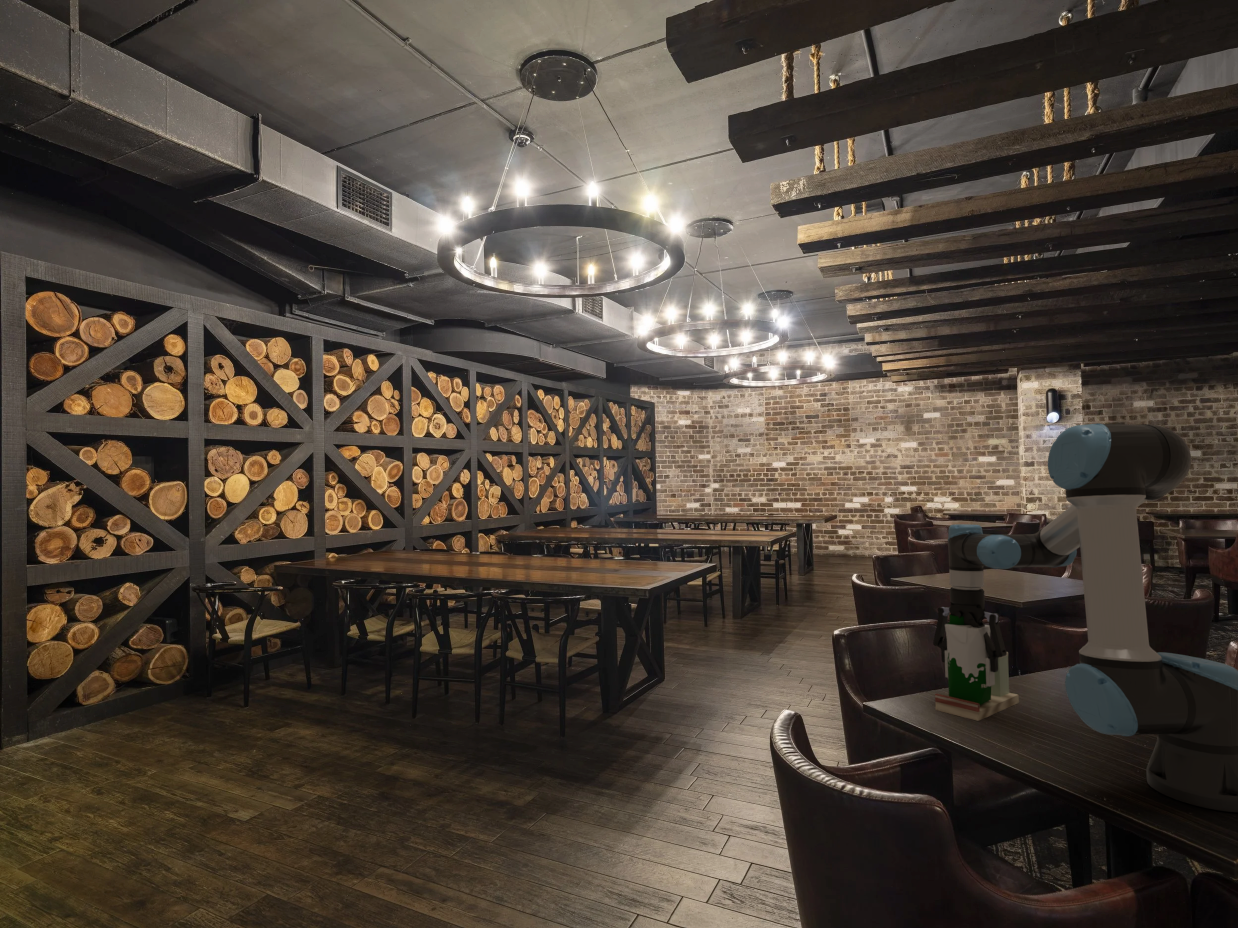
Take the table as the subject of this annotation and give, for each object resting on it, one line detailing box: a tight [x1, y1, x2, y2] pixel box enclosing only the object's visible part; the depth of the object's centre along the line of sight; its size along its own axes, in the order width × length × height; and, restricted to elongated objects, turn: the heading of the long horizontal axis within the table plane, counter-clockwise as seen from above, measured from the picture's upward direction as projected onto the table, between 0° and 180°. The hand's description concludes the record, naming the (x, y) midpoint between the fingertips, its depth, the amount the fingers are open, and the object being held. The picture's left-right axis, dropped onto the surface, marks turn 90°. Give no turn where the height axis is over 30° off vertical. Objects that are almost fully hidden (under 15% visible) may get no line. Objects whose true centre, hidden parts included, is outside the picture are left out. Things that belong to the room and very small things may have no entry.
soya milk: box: [945, 613, 991, 705], centre depth 161 cm, size 9×9×20 cm
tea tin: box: [991, 651, 1010, 697], centre depth 168 cm, size 5×6×10 cm
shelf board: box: [934, 692, 1020, 722], centre depth 163 cm, size 22×10×4 cm, turn 128°
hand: (969, 680), depth 161 cm, fingers closed on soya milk, 9 cm apart
